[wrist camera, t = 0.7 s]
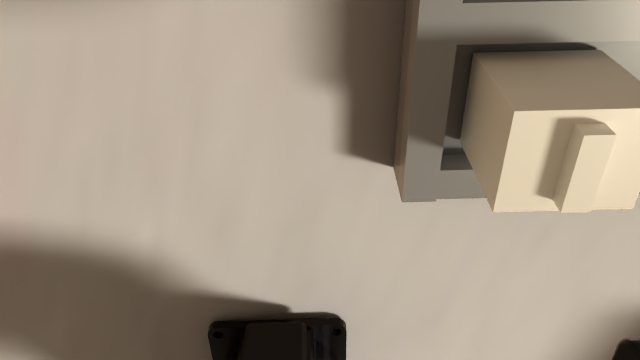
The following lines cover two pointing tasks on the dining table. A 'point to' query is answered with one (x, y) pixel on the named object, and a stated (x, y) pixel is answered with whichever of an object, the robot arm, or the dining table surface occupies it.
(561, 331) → the dining table surface
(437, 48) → the gray shelf unit
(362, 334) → the dining table surface
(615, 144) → the tab
